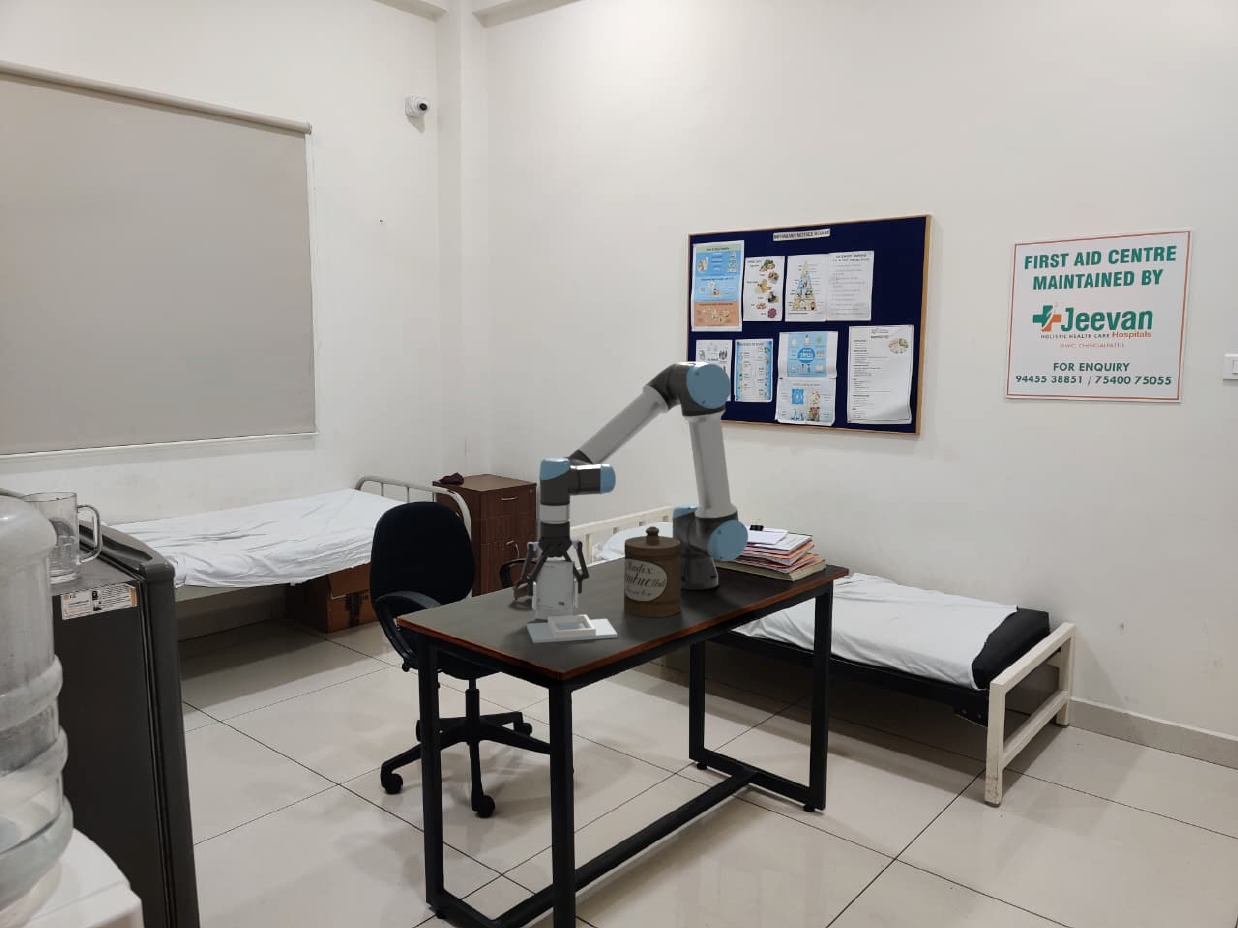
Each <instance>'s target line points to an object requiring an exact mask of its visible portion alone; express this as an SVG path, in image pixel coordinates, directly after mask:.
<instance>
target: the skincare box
mask: <svg viewBox="0 0 1238 928" xmlns="http://www.w3.org/2000/svg"><path fill="white" fill-rule="evenodd" d="M537 561H538V560H537ZM538 562H539V561H538ZM572 562H573V563H574V565H575V566H576V561H575V560H572ZM572 562H567V561H566V560H565V558H560V557H553V558H549V557H548V558H547V560H546V561H545V563H544V565H543V566H542V568H541V570H540V572H539V574H538V575H537V588H536V610H535V613H534V615H535V619H538V620H545V621H546V620H547V621H548V617H553V616H569V615H574V614H573V613H574V605H573V597H574V580H575V575H574V573H573V563H572Z"/></svg>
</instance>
